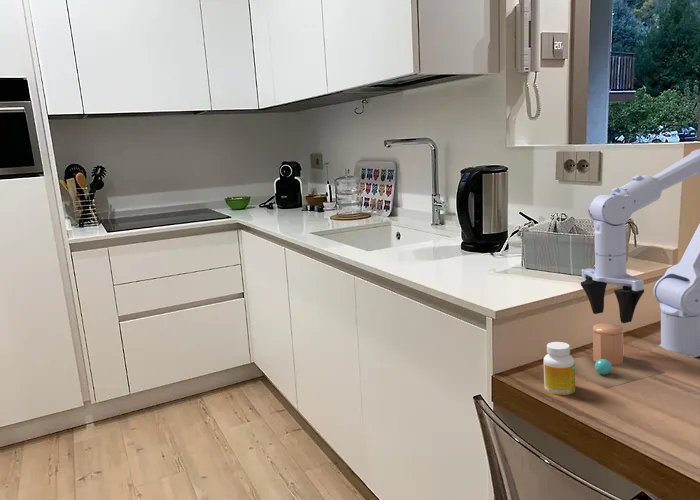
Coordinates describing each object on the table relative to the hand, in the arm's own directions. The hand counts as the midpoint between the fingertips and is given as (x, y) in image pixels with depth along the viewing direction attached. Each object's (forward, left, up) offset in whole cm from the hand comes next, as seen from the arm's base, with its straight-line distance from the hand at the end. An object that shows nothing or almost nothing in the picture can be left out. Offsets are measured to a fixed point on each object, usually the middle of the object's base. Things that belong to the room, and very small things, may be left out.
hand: (611, 317), depth 111 cm
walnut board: (+5, +4, -10) cm, 12 cm away
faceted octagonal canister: (+3, +1, -8) cm, 9 cm away
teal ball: (+8, +6, -7) cm, 13 cm away
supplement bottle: (+19, +7, -10) cm, 23 cm away
